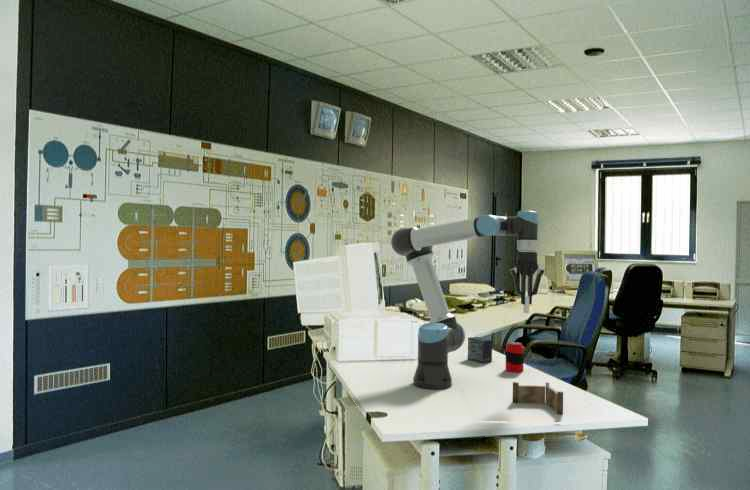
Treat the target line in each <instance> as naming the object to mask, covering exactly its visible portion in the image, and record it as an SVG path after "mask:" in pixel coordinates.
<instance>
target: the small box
mask: <svg viewBox="0 0 750 490" xmlns="http://www.w3.org/2000/svg"><path fill="white" fill-rule="evenodd" d="M467 360H469V361H473V362H477V363H481V364H487V363H492V362H493V340H492V339H488V338H485V337H478V336H473V337H468V338H467Z"/></svg>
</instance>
